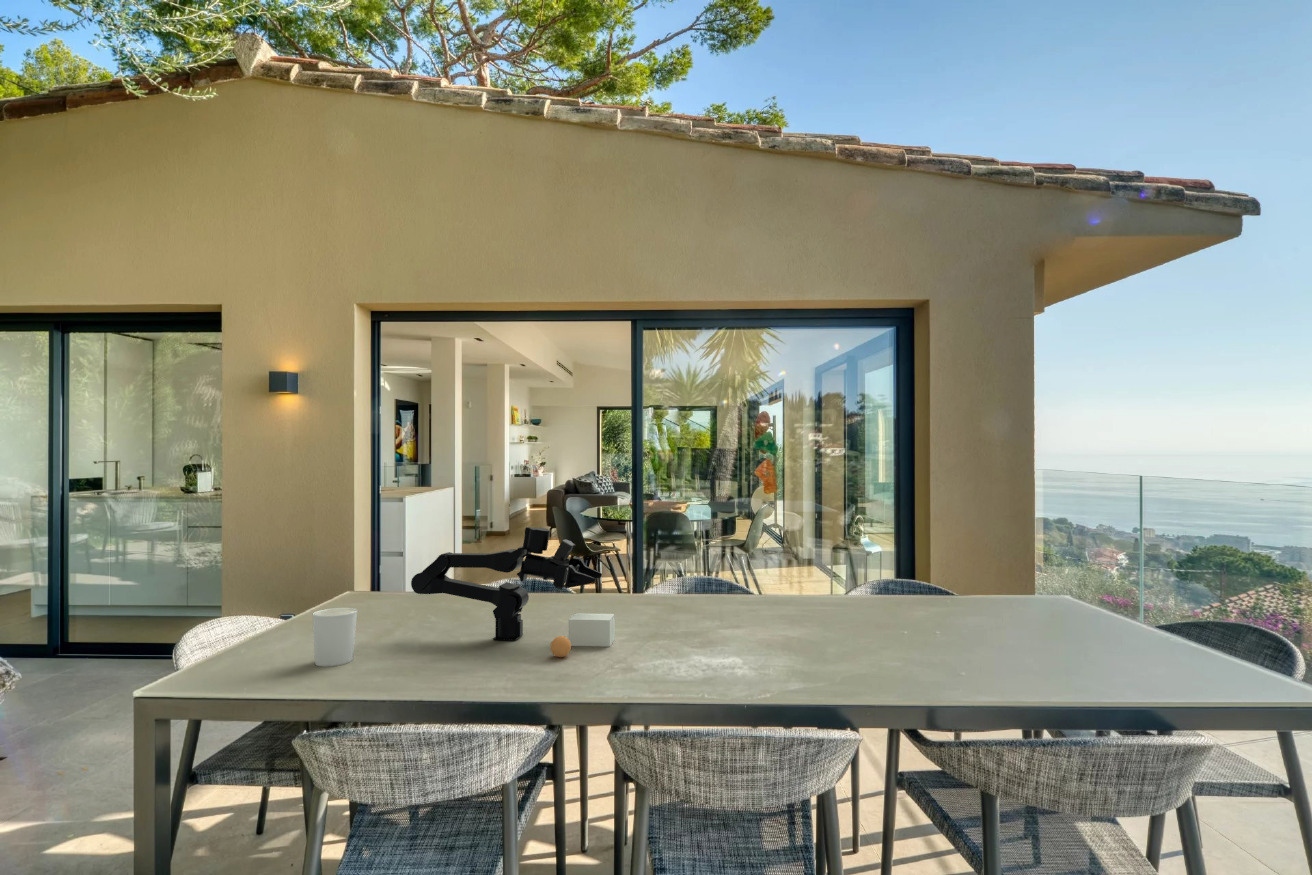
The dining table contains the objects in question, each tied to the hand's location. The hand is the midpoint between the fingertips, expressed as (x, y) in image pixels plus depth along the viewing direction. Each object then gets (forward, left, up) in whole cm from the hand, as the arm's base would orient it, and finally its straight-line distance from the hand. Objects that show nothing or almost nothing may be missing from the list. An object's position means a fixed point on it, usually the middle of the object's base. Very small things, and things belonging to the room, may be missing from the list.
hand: (598, 577), depth 176 cm
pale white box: (-1, -3, -17) cm, 17 cm away
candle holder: (-60, -25, -17) cm, 67 cm away
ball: (-6, -17, -14) cm, 23 cm away
